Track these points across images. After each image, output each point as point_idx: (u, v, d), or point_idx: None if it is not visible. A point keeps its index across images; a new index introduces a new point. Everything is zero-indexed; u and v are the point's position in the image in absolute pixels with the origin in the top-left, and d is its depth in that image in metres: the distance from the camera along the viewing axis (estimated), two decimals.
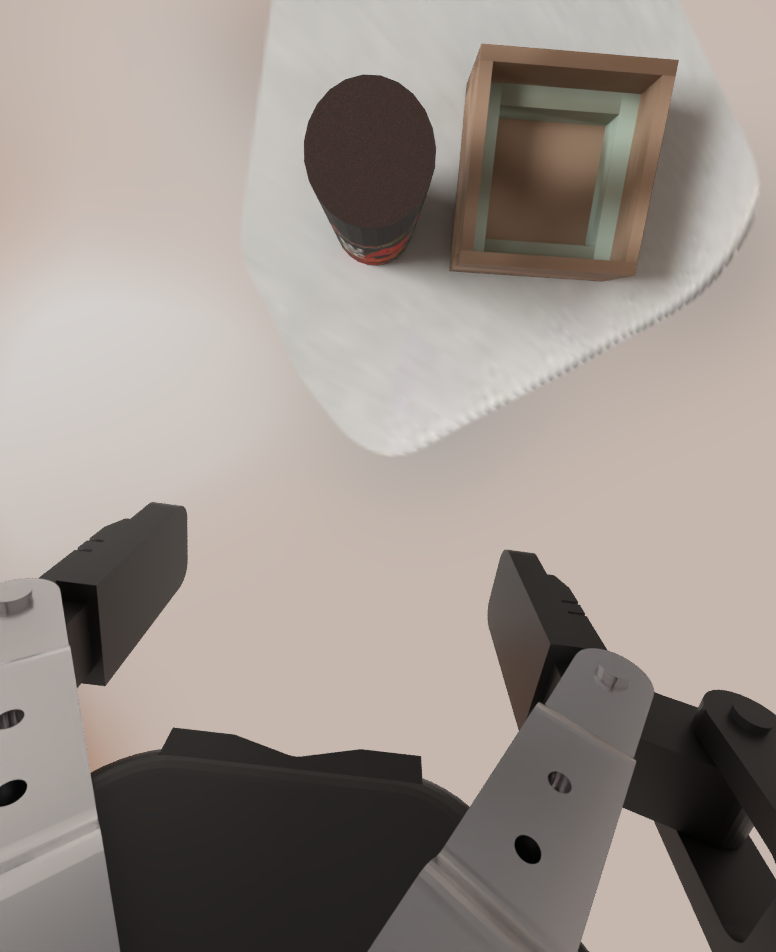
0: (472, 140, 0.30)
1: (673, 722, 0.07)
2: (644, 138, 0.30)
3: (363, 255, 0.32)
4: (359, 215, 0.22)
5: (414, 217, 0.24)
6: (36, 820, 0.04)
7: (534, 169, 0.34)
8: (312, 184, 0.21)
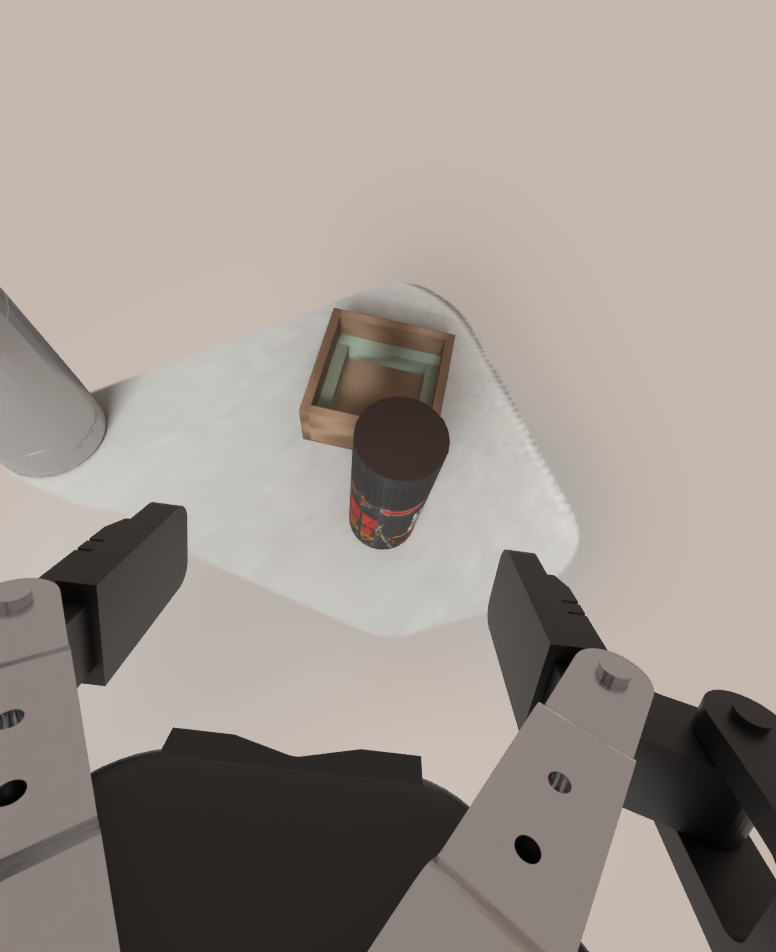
0: (354, 423, 0.40)
1: (673, 722, 0.07)
2: (370, 328, 0.46)
3: None
4: (439, 451, 0.29)
5: None
6: (36, 820, 0.04)
7: (366, 401, 0.47)
8: (415, 478, 0.28)
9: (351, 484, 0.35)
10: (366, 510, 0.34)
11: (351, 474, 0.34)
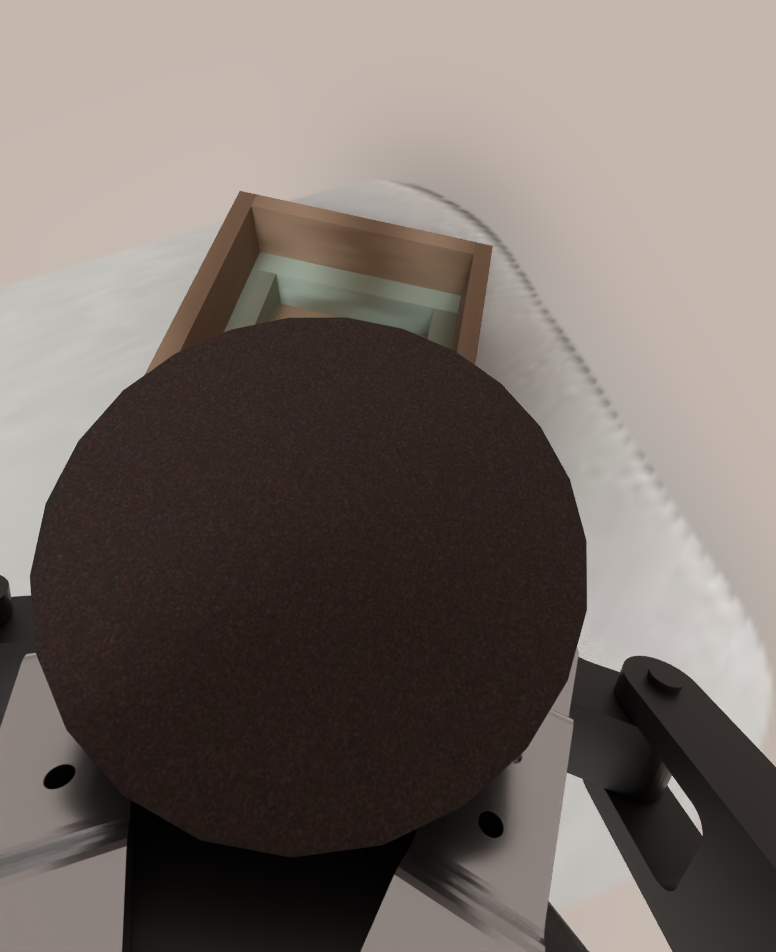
0: None
1: (597, 686, 0.08)
2: (317, 234, 0.22)
3: None
4: (539, 604, 0.05)
5: None
6: (77, 809, 0.04)
7: None
8: (401, 826, 0.04)
9: None
10: None
11: None
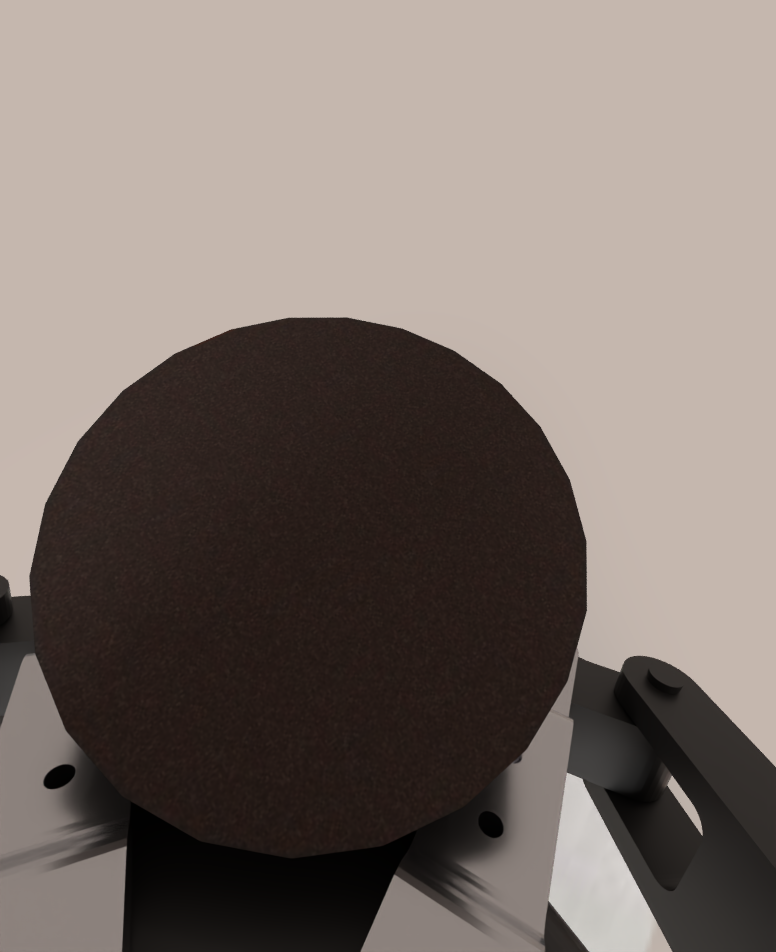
0: None
1: (597, 686, 0.08)
2: None
3: None
4: (539, 604, 0.05)
5: None
6: (76, 809, 0.04)
7: None
8: (401, 828, 0.04)
9: None
10: None
11: None
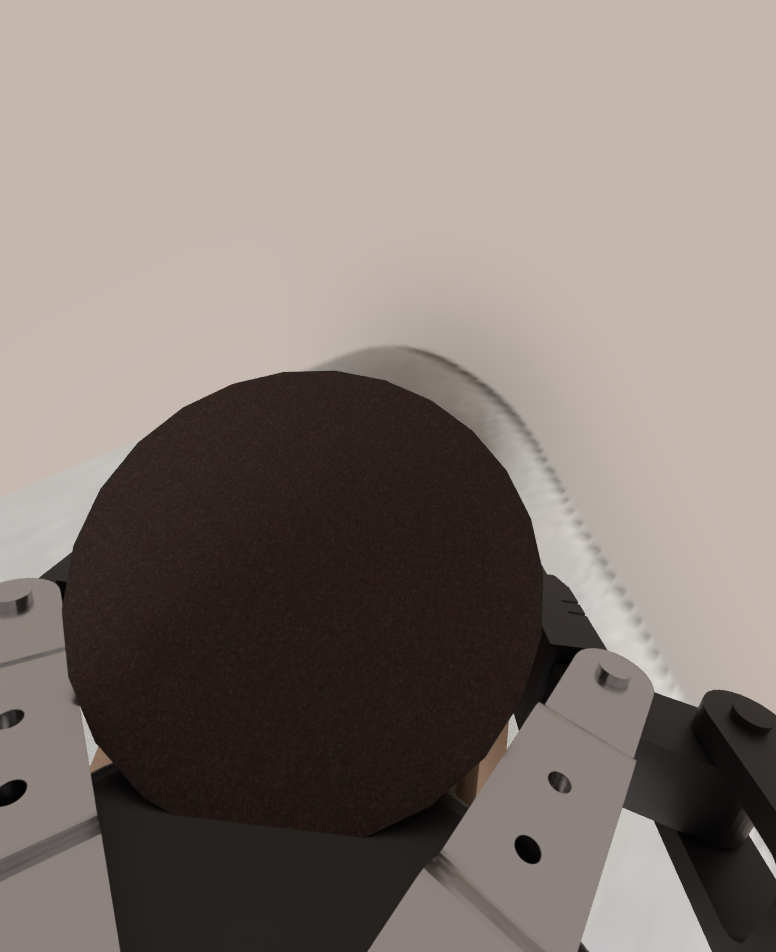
0: None
1: (673, 722, 0.07)
2: None
3: None
4: (500, 631, 0.06)
5: None
6: (36, 820, 0.04)
7: None
8: (376, 824, 0.05)
9: None
10: None
11: None
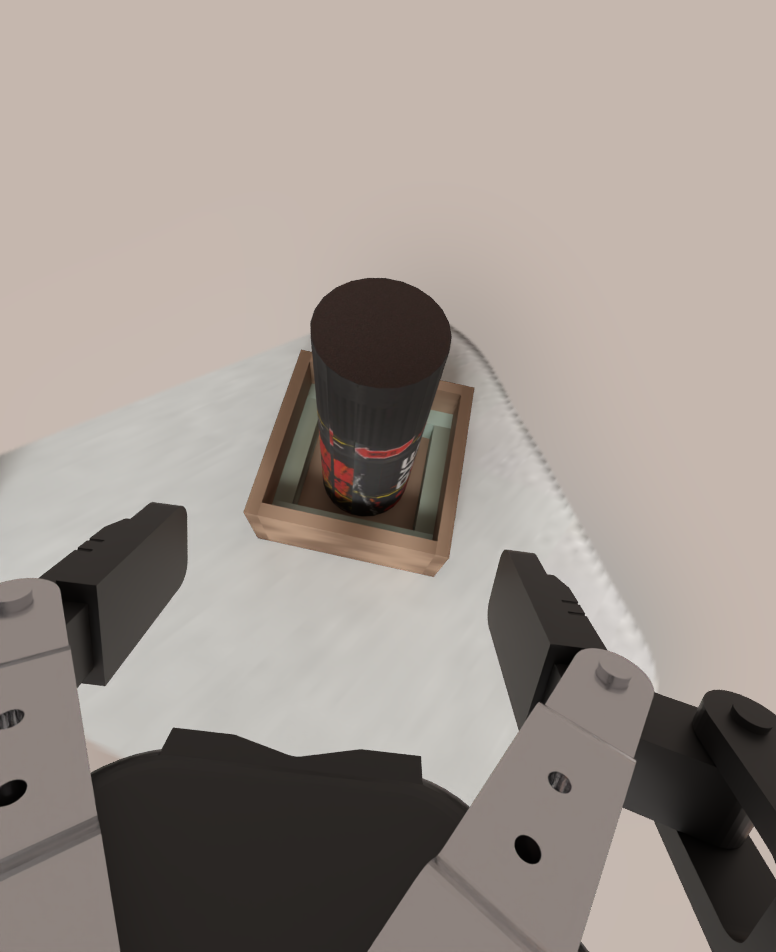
0: (327, 530, 0.27)
1: (673, 722, 0.07)
2: None
3: (413, 461, 0.29)
4: (437, 349, 0.20)
5: None
6: (36, 820, 0.04)
7: None
8: (401, 385, 0.19)
9: None
10: (337, 452, 0.25)
11: None
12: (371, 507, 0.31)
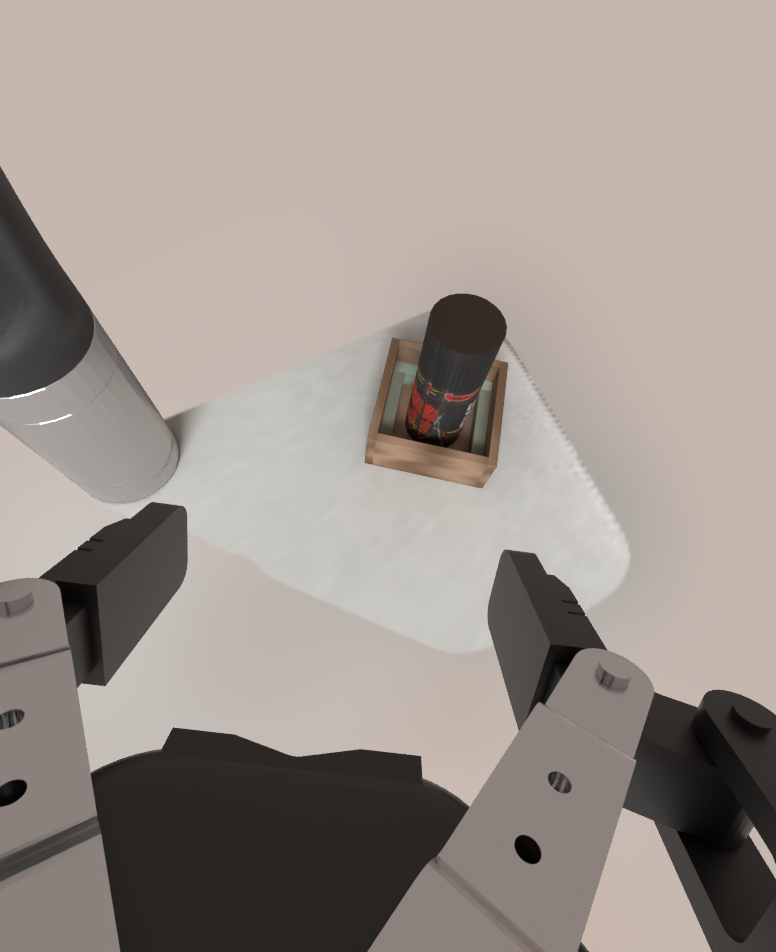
0: (420, 450, 0.43)
1: (673, 722, 0.07)
2: None
3: None
4: (499, 333, 0.35)
5: None
6: (36, 819, 0.04)
7: None
8: (481, 352, 0.34)
9: (416, 379, 0.41)
10: (430, 399, 0.41)
11: (417, 369, 0.41)
12: (441, 441, 0.47)
